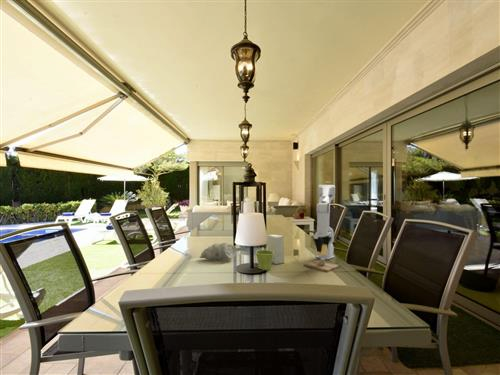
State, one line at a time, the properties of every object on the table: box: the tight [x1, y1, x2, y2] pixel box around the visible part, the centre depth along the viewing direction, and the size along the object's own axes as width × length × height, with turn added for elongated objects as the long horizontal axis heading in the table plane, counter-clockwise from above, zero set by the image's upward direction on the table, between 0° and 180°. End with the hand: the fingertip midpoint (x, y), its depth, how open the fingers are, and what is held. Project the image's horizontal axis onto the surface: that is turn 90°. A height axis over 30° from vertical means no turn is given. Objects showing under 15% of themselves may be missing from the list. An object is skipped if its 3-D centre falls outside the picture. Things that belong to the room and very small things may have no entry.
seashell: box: [199, 242, 237, 262], centre depth 157 cm, size 16×15×10 cm
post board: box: [303, 258, 341, 273], centre depth 151 cm, size 13×14×4 cm
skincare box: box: [266, 234, 285, 265], centre depth 157 cm, size 8×6×15 cm
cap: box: [315, 243, 327, 256], centre depth 151 cm, size 6×6×5 cm
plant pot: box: [254, 249, 274, 271], centre depth 143 cm, size 9×9×9 cm
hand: (321, 250), depth 151 cm, fingers closed on cap, 5 cm apart
